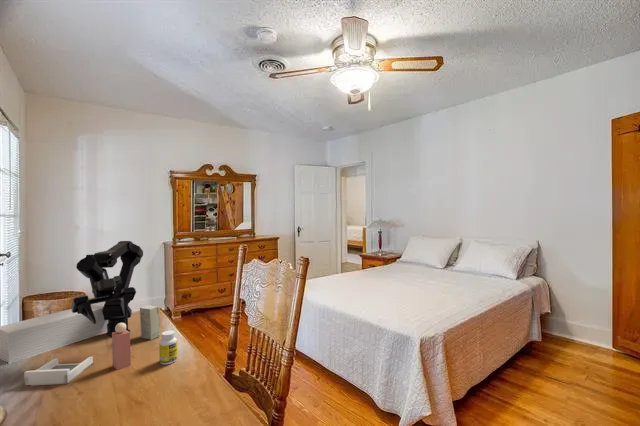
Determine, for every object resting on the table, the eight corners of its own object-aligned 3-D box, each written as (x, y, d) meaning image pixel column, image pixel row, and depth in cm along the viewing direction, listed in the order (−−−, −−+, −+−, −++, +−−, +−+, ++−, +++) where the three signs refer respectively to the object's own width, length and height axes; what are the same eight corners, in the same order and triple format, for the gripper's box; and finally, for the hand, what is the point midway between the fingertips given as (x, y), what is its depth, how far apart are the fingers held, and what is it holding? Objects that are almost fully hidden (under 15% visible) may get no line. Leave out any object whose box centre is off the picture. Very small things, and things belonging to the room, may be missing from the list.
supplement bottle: (170, 365, 105) (169, 336, 105) (156, 364, 107) (155, 335, 106) (180, 358, 111) (180, 330, 110) (167, 356, 112) (166, 328, 112)
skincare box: (160, 336, 130) (160, 306, 129) (151, 340, 126) (150, 309, 125) (149, 333, 132) (149, 304, 132) (140, 337, 128) (139, 307, 128)
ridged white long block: (96, 327, 141) (95, 302, 141) (109, 331, 136) (109, 306, 136) (-3, 357, 113) (-4, 327, 113) (9, 364, 108) (7, 332, 108)
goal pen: (55, 365, 106) (54, 353, 106) (93, 363, 107) (92, 351, 107) (24, 385, 94) (24, 372, 94) (67, 383, 95) (67, 370, 95)
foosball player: (112, 365, 106) (111, 323, 106) (126, 361, 109) (125, 319, 109) (116, 369, 103) (115, 326, 103) (130, 365, 106) (129, 322, 106)
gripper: (72, 273, 107) (81, 314, 100) (133, 265, 121) (145, 300, 114) (67, 293, 112) (76, 332, 105) (126, 282, 126) (138, 317, 119)
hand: (110, 319), depth 111 cm, fingers open, 9 cm apart
